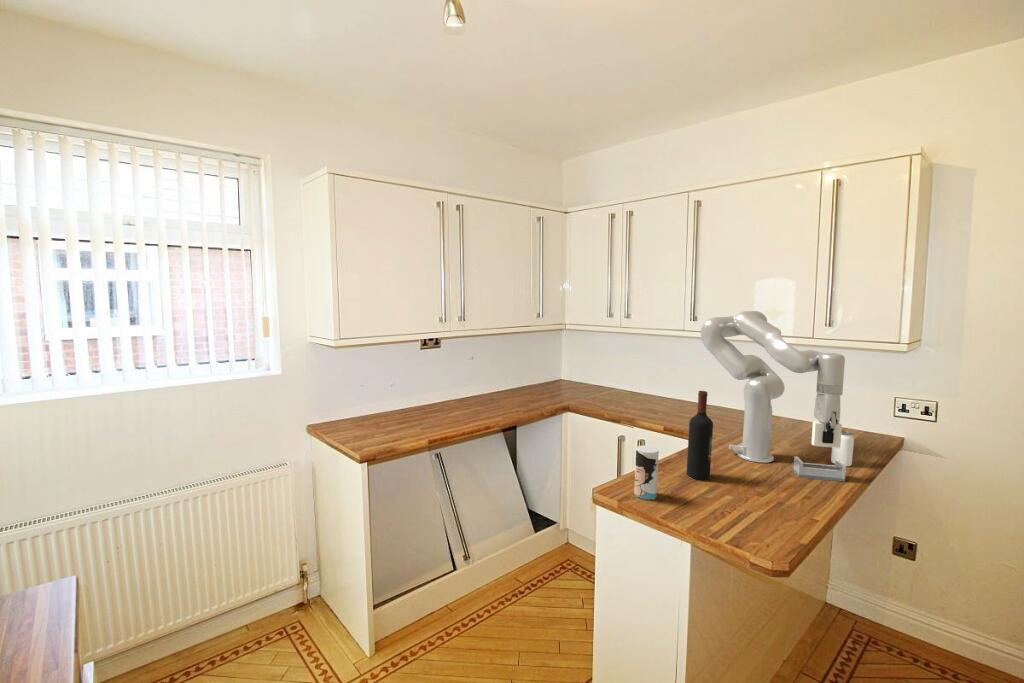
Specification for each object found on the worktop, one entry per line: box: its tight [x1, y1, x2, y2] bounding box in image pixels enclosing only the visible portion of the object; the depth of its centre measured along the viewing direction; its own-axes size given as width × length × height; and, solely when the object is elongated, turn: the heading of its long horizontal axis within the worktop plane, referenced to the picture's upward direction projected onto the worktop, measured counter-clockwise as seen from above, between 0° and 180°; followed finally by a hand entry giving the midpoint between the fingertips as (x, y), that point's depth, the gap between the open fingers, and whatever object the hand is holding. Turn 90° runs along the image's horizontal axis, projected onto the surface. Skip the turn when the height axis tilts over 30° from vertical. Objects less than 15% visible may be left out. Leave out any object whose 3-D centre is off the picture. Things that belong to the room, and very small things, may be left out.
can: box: [830, 430, 855, 468], centre depth 179 cm, size 6×6×12 cm
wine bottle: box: [686, 390, 714, 481], centre depth 164 cm, size 8×8×30 cm
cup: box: [633, 445, 659, 499], centre depth 149 cm, size 7×7×15 cm
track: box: [792, 455, 847, 483], centre depth 167 cm, size 14×6×6 cm, turn 75°
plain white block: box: [810, 421, 843, 448], centre depth 165 cm, size 8×3×8 cm, turn 75°
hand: (825, 441), depth 165 cm, fingers closed on plain white block, 2 cm apart
